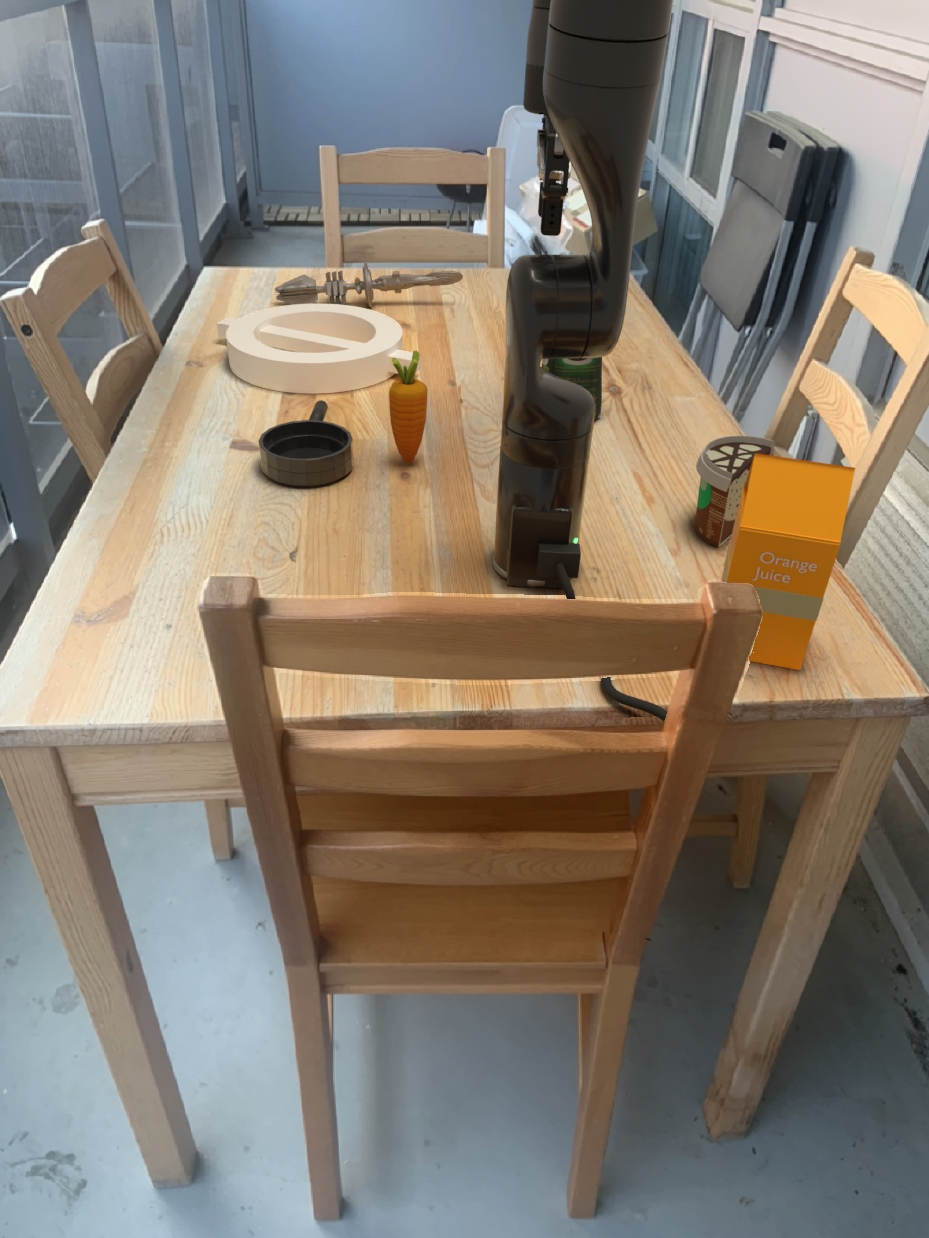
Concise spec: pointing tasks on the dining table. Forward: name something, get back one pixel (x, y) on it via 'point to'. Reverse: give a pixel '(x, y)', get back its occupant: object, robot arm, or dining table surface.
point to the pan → (306, 453)
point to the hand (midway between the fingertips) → (548, 225)
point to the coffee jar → (580, 374)
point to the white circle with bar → (314, 347)
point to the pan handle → (319, 411)
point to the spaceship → (358, 285)
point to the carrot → (408, 409)
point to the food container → (724, 483)
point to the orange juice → (788, 548)
